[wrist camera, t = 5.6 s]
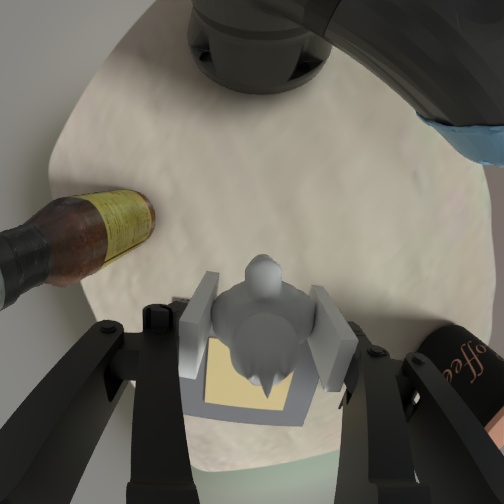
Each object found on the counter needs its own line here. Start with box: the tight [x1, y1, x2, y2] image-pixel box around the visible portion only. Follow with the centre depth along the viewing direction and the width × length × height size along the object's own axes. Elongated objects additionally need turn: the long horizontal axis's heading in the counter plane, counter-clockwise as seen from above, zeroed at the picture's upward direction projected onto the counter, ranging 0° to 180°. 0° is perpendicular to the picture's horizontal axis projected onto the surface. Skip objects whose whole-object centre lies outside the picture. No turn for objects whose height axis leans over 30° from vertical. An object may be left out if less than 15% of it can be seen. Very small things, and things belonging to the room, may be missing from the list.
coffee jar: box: [417, 325, 504, 449], centre depth 23 cm, size 11×11×18 cm
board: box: [179, 299, 320, 426], centre depth 31 cm, size 17×17×1 cm
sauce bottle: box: [0, 190, 155, 311], centre depth 18 cm, size 6×6×20 cm
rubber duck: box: [211, 254, 315, 399], centre depth 13 cm, size 5×7×8 cm
